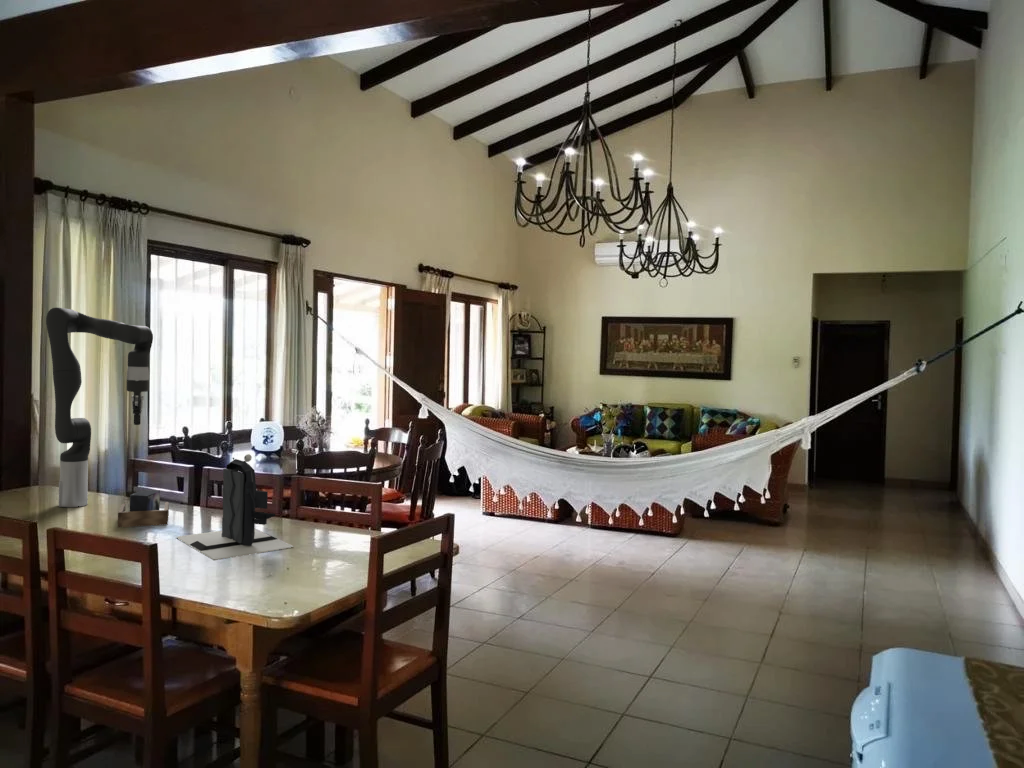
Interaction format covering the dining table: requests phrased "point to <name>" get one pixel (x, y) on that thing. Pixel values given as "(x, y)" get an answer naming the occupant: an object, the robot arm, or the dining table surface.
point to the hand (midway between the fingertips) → (137, 424)
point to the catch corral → (143, 517)
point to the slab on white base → (238, 518)
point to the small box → (145, 500)
